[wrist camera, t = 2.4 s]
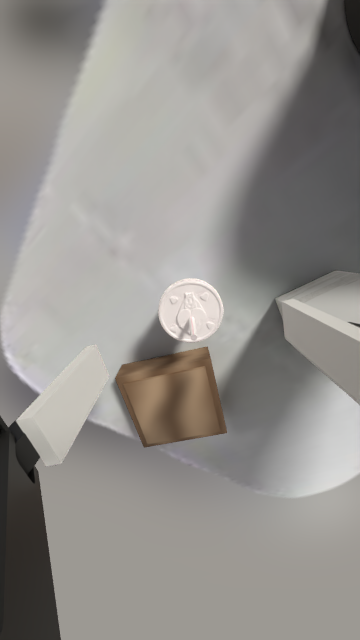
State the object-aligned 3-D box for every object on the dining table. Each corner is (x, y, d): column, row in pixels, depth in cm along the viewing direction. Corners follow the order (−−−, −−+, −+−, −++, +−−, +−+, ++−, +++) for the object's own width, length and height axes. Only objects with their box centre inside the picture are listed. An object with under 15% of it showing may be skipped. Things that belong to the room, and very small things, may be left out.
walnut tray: (207, 346, 31) (211, 360, 28) (223, 415, 36) (227, 435, 32) (122, 364, 33) (114, 380, 29) (147, 429, 37) (143, 449, 33)
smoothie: (168, 316, 30) (158, 370, 17) (162, 271, 28) (144, 294, 14) (212, 311, 30) (236, 363, 16) (209, 266, 27) (234, 283, 14)
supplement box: (291, 348, 31) (381, 430, 17) (273, 297, 29) (360, 346, 15) (352, 323, 30) (503, 391, 16) (338, 267, 27) (505, 290, 13)
